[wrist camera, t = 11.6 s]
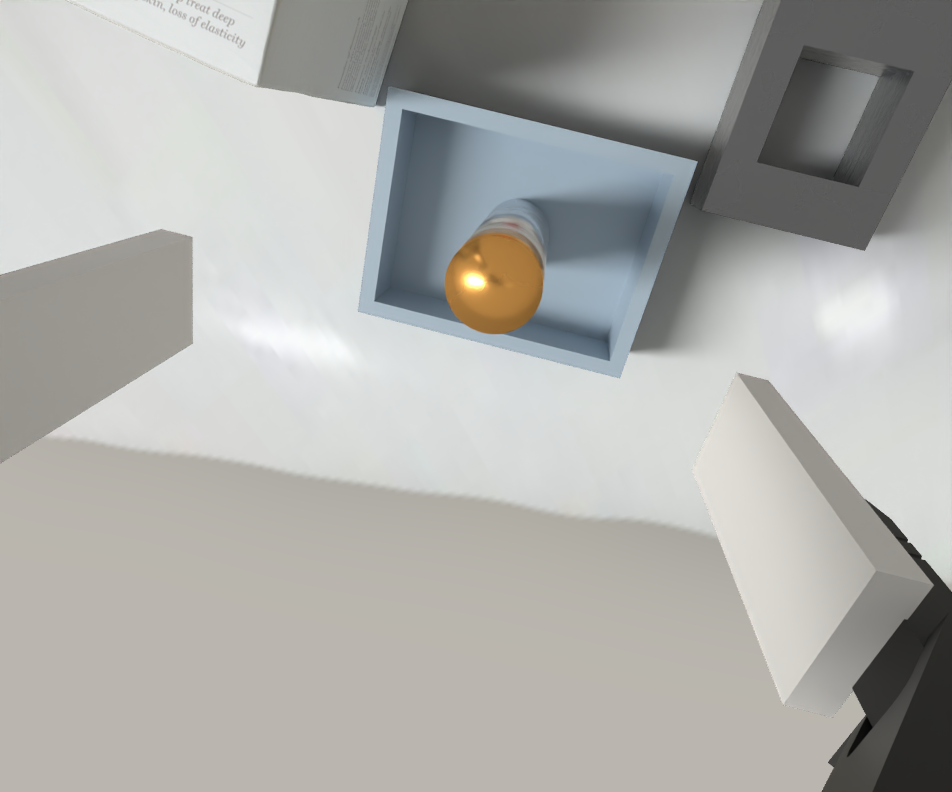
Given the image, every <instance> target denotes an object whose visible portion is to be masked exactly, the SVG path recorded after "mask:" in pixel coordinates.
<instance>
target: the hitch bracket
mask: <svg viewBox="0 0 952 792" xmlns="http://www.w3.org/2000/svg"><path fill="white" fill-rule="evenodd" d="M799 57H800V58H804V59H808V60H812V61H817V62H821V63H825V64H829V65H833V66H838V67H842V68H846V69H850V70H854V71H859V72H863V73H867V74H871V75H875V76H880V78H879V80H878V82H877V85H876V87H875V89H874V91H873V93H872V95H871V98H870V100H869V102H868V104H867V106H866V108H865V111H864V113H863V115H862V117H861V119H860V121H859V124H858V126H857V128H856V130H855V132H854V134H853V137H852V139H851V141H850V143H849V145H848V147H847V150H846V152H845V154H844V156H843V158H842V161H841V163H840V165H839V167H838V169H837V171H836V174H835V176H834V178H833V180H828V179H824V178H819V177H815V176H811V175H807V174H803V173H799V172H795V171H791V170H787V169H782V168H778V167H774V166H770V165H766V164H762V163H758V162H757V161H758V158H759V156H760V153H761V151H762V148H763V146H764V143H765V141H766V138H767V136H768V133H769V131H770V128H771V126H772V123H773V121H774V118H775V116H776V113H777V111H778V108H779V106H780V103H781V101H782V98H783V96H784V93H785V91H786V88H787V86H788V83H789V81H790V78H791V76H792V73H793V71H794V68H795V66H796V64H797V61H798V59H799ZM951 80H952V1H950V0H764V1H763V4H762V7H761V9H760V12H759V15H758V18H757V20H756V23H755V26H754V28H753V31H752V34H751V37H750V39H749V42H748V45H747V48H746V50H745V53H744V56H743V59H742V61H741V64H740V67H739V70H738V72H737V75H736V78H735V81H734V83H733V86H732V89H731V92H730V94H729V97H728V100H727V102H726V105H725V108H724V111H723V113H722V116H721V119H720V122H719V124H718V127H717V130H716V133H715V135H714V138H713V141H712V144H711V146H710V149H709V152H708V155H707V157H706V160H705V163H704V166H703V168H702V171H701V174H700V176H699V179H698V182H697V185H696V187H695V190H694V193H693V196H692V198H691V201H690V204H692V205H693V206H695V207H697V208H698V209H700V210H702V211H705V212H709V213H714V214H718V215H722V216H726V217H730V218H734V219H738V220H742V221H746V222H750V223H754V224H758V225H762V226H766V227H770V228H774V229H778V230H783V231H787V232H791V233H795V234H799V235H803V236H807V237H811V238H815V239H819V240H823V241H827V242H831V243H835V244H839V245H843V246H848V247H852V248H856V249H860V250H864V251H865V249H866V247H867V245H868V243H869V241H870V239H871V237H872V235H873V233H874V231H875V229H876V227H877V226H878V224H879V222H880V220H881V218H882V216H883V214H884V212H885V210H886V208H887V206H888V204H889V202H890V200H891V198H892V196H893V194H894V192H895V190H896V188H897V186H898V184H899V182H900V180H901V178H902V176H903V174H904V173H905V171H906V169H907V167H908V165H909V163H910V161H911V159H912V157H913V155H914V153H915V151H916V149H917V147H918V145H919V143H920V141H921V139H922V137H923V135H924V133H925V131H926V129H927V127H928V125H929V123H930V121H931V119H932V118H933V116H934V114H935V112H936V110H937V108H938V106H939V104H940V102H941V100H942V98H943V96H944V94H945V92H946V90H947V88H948V86H949V84H950V82H951Z"/></svg>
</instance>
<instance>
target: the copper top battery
mask: <svg viewBox="0 0 952 792" xmlns="http://www.w3.org/2000/svg"><path fill="white" fill-rule="evenodd" d="M549 234H550V231H549V224H548V220H547V218H546V216H545V214H544V213H543V211H542V210H541V209H540V208H539V207H538V206H537V205H535V204H534V203H532V202H530V201H527V200H524V199H510V200H507V201H504V202H502V203H500V204H499V205H497V206H496V207H495V208H494V209H493V210H492V211H491V212H490V213H489V215H488V216H487V217H486V218H485V219H484V221H483V222H482V223H481V224H480V225H479V227H478V228H477V229H476V230H475V231H474V233H473V234H472V235H471V236H470V237H469V238H468V240H467V241H466V242H465V243H464V244H463V246H462V247H461V248H460V249H459V250H458V252H457V253H456V254H455V255H454V257H453V258H452V260H451V261H450V263H449V266H448V268H447V271H446V275H445V294H446V298H447V301H448V304H449V306H450V308H451V310H452V311H453V313H454V314H455V315H456V317H457V318H458V319H459V320H460V321H461V322H463V323H464V324H465V325H466V326H468V327H470V328H471V329H474V330H476V331H478V332H482V333H486V334H503V333H508V332H511V331H514V330H516V329H518V328H520V327H521V326H523V325H524V324H525V323H526V322H528V321H529V320H530V319H531V317H532V316H533V315H534V313H535V312H536V310H537V308H538V306H539V304H540V301H541V298H542V293H543V285H544V276H545V268H546V260H547V251H548V243H549Z"/></svg>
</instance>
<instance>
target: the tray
mask: <svg viewBox="0 0 952 792" xmlns="http://www.w3.org/2000/svg"><path fill="white" fill-rule="evenodd" d="M697 163H698V161H694V160H690V159H686V158H683V157H679V156H674V155H670V154H666V153H662V152H658V151H654V150H650V149H646V148H642V147H638V146H633V145H629V144H625V143H621V142H617V141H613V140H609V139H605V138H601V137H597V136H592V135H588V134H584V133H580V132H576V131H572V130H568V129H564V128H560V127H556V126H551V125H547V124H543V123H539V122H535V121H531V120H527V119H523V118H519V117H515V116H510V115H506V114H502V113H498V112H494V111H490V110H486V109H482V108H478V107H474V106H469V105H465V104H461V103H457V102H453V101H449V100H445V99H441V98H437V97H433V96H428V95H424V94H420V93H416V92H412V91H408V90H404V89H399V88H395V87H391V86H388V92H387V99H386V107H385V114H384V121H383V129H382V136H381V144H380V151H379V159H378V166H377V173H376V181H375V188H374V196H373V203H372V211H371V218H370V225H369V233H368V240H367V248H366V255H365V263H364V270H363V277H362V285H361V292H360V300H359V307H358V312H362V313H365V314H369V315H373V316H377V317H381V318H385V319H389V320H393V321H397V322H401V323H405V324H409V325H412V326H416V327H420V328H424V329H428V330H432V331H436V332H440V333H444V334H448V335H452V336H456V337H459V338H463V339H467V340H471V341H475V342H479V343H483V344H487V345H491V346H495V347H499V348H503V349H506V350H510V351H514V352H518V353H522V354H526V355H530V356H534V357H538V358H542V359H546V360H550V361H554V362H557V363H561V364H565V365H569V366H573V367H577V368H581V369H585V370H589V371H593V372H597V373H601V374H604V375H608V376H612V377H616V378H620V377H621V374H622V371H623V368H624V365H625V363H626V360H627V357H628V354H629V352H630V349H631V346H632V343H633V340H634V338H635V335H636V332H637V329H638V326H639V324H640V321H641V318H642V315H643V313H644V310H645V307H646V304H647V301H648V299H649V296H650V293H651V290H652V288H653V285H654V282H655V279H656V276H657V274H658V271H659V268H660V265H661V263H662V260H663V257H664V254H665V251H666V249H667V246H668V243H669V240H670V238H671V235H672V232H673V229H674V226H675V224H676V221H677V218H678V215H679V213H680V210H681V207H682V204H683V201H684V199H685V196H686V193H687V190H688V188H689V185H690V182H691V179H692V176H693V174H694V171H695V168H696V165H697ZM510 199H524V200H527V201H530V202H532V203H534V204H535V205H537V206H538V207H539V208H540V209H541V210H542V211H543V213H544V214H545V216H546V218H547V220H548V224H549V231H550V234H549V243H548V251H547V260H546V268H545V276H544V285H543V293H542V298H541V301H540V304H539V306H538V308H537V310H536V312H535V313H534V315H533V316H532V317H531V319H530V320H529V321H528V322H526V323H525V324H524V325H523V326H521V327H520V328H518V329H516V330H514V331H511V332H508V333H503V334H486V333H482V332H478V331H476V330H474V329H471V328H470V327H468V326H466V325H465V324H464V323H463V322H461V321H460V320H459V319H458V318H457V317H456V315H455V314H454V313H453V311H452V310H451V308H450V306H449V304H448V301H447V298H446V294H445V275H446V271H447V268H448V266H449V263H450V261H451V260H452V258H453V257H454V255H455V254H456V253H457V252H458V250H459V249H460V248H461V247H462V246H463V244H464V243H465V242H466V241H467V240H468V238H469V237H470V236H471V235H472V234H473V233H474V231H475V230H476V229H477V228H478V227H479V225H480V224H481V223H482V222H483V221H484V219H485V218H486V217H487V216H488V215H489V213H490V212H491V211H492V210H493V209H494V208H495V207H496V206H497V205H499V204H500V203H502V202H504V201H507V200H510Z"/></svg>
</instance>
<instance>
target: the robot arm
mask: <svg viewBox="0 0 952 792" xmlns="http://www.w3.org/2000/svg"><path fill="white" fill-rule="evenodd" d="M191 344H193V310H192V237H190V236H186V235H182V234H178V233H174V232H170V231H166V230H162V229H160V230H156V231H153V232H149V233H146V234H142V235H139V236H135V237H132V238H128V239H125V240H121V241H118V242H114V243H111V244H107V245H104V246H100V247H97V248H93V249H90V250H86V251H83V252H79V253H76V254H72V255H69V256H65V257H62V258H58V259H55V260H51V261H48V262H44V263H41V264H37V265H34V266H30V267H27V268H23V269H19V270H16V271H12V272H9V273H5V274H2V275H0V463H2V462H4V461H5V460H7V459H8V458H10V457H12V456H13V455H15V454H16V453H18V452H20V451H21V450H23V449H24V448H26V447H28V446H29V445H31V444H32V443H34V442H35V441H37V440H39V439H41V438H42V437H44V436H45V435H47V434H49V433H50V432H52V431H53V430H55V429H57V428H58V427H60V426H61V425H63V424H65V423H66V422H68V421H69V420H71V419H73V418H74V417H76V416H77V415H79V414H81V413H82V412H84V411H85V410H87V409H89V408H90V407H92V406H93V405H95V404H97V403H98V402H100V401H101V400H103V399H105V398H106V397H108V396H109V395H111V394H113V393H114V392H116V391H117V390H119V389H121V388H122V387H124V386H125V385H127V384H129V383H130V382H132V381H133V380H135V379H137V378H138V377H140V376H141V375H143V374H145V373H146V372H148V371H149V370H151V369H153V368H154V367H156V366H157V365H159V364H161V363H162V362H164V361H165V360H167V359H169V358H170V357H172V356H173V355H175V354H177V353H178V352H180V351H181V350H183V349H185V348H186V347H188V346H189V345H191ZM692 471H693V474H694V476H695V479H696V482H697V484H698V487H699V489H700V492H701V495H702V497H703V500H704V502H705V505H706V507H707V510H708V513H709V515H710V518H711V520H712V523H713V526H714V528H715V531H716V533H717V536H718V538H719V541H720V544H721V546H722V549H723V551H724V554H725V557H726V559H727V562H728V564H729V567H730V569H731V572H732V575H733V577H734V580H735V582H736V585H737V587H738V590H739V592H740V595H741V598H742V600H743V603H744V606H745V608H746V611H747V613H748V616H749V619H750V621H751V624H752V626H753V629H754V632H755V634H756V636H757V639H758V642H759V644H760V647H761V649H762V652H763V655H764V657H765V660H766V663H767V665H768V668H769V670H770V673H771V675H772V678H773V681H774V683H775V686H776V688H777V691H778V693H779V696H780V699H781V701H782V704H783V705H785V706H789V707H792V708H797V709H800V710H804V711H808V712H812V713H816V714H820V715H824V716H828V717H831V718H833V716H834V715H835V714H836V712H837V711H838V710H839V709H840V707H841V706H842V705H843V703H844V702H845V701H846V699H847V698H848V697H849V695H850V694H851V693H852V692H853V691H854V692H855V694H856V696H857V698H858V700H859V702H860V704H861V706H862V708H863V710H864V712H865V714H866V715H865V717H864V718H863V719H862V720H861V722H860V723H859V724H858V726H857V727H856V728H855V729H854V731H853V732H852V733H851V734H850V735H849V737H848V738H847V739H846V740H845V742H844V743H843V744H842V745H841V747H840V748H839V749H838V750H837V752H836V753H835V754H834V755H833V757H832V758H831V759H830V760H829V762H828V763H829V764H831V765H832V766H833V767H834V769H833V771H832V773H831V775H830V776H829V778H828V780H827V782H826V784H825V786H824V788H823V790H822V792H952V592H951V590H950V589H949V588H948V587H947V586H946V584H945V583H944V582H943V581H942V580H941V578H940V577H939V576H938V575H937V574H936V572H935V571H934V570H933V569H932V568H931V566H930V565H929V564H928V563H927V562H926V560H922V559H921V557H922V556H921V554H920V553H919V552H918V551H917V550H916V548H915V547H914V546H913V545H912V544H911V543H907V541H908V539H907V538H906V536H905V535H904V534H903V533H902V532H901V531H900V529H899V528H898V527H897V526H896V525H895V523H894V522H893V521H892V520H891V519H890V518H889V517H887V516H886V515H885V514H884V513H882V512H881V511H880V510H879V509H877V508H876V507H875V506H874V505H872V504H871V503H870V502H868V501H867V500H865V499H864V498H863V497H862V496H861V494H860V493H859V492H858V491H857V489H856V488H855V487H854V486H853V484H852V483H851V482H850V481H849V479H848V478H847V477H846V476H845V475H844V473H843V472H842V471H841V470H840V468H839V467H838V466H837V465H836V463H835V462H834V461H833V460H832V458H831V457H830V456H829V455H828V453H827V452H826V451H825V450H824V449H823V447H822V446H821V445H820V444H819V442H818V441H817V440H816V439H815V437H814V436H813V435H812V434H811V432H810V431H809V430H808V429H807V428H806V426H805V425H804V424H803V423H802V421H801V420H800V419H799V418H798V416H797V415H796V414H795V413H794V411H793V410H792V409H791V408H790V406H789V405H788V404H787V403H786V402H785V400H784V399H783V398H782V397H781V395H780V394H779V393H778V392H777V390H776V389H775V388H774V387H773V385H772V384H771V383H770V382H769V381H768V380H764V379H760V378H756V377H752V376H748V375H744V374H740V373H736V374H735V376H734V379H733V381H732V383H731V385H730V387H729V389H728V392H727V394H726V396H725V398H724V400H723V403H722V405H721V407H720V409H719V411H718V413H717V416H716V418H715V420H714V422H713V424H712V426H711V429H710V431H709V433H708V435H707V437H706V439H705V442H704V444H703V446H702V448H701V450H700V453H699V455H698V457H697V459H696V461H695V463H694V466H693V468H692Z"/></svg>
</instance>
